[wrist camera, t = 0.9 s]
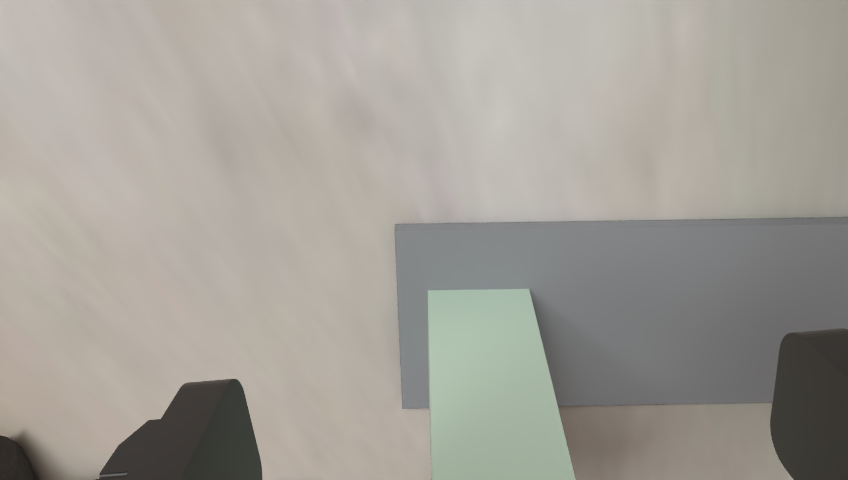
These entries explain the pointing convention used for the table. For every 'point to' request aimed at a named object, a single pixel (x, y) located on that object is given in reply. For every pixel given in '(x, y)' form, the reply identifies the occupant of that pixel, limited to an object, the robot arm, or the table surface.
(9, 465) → the figurine
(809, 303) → the slate mat
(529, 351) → the sage block
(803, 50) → the table surface
